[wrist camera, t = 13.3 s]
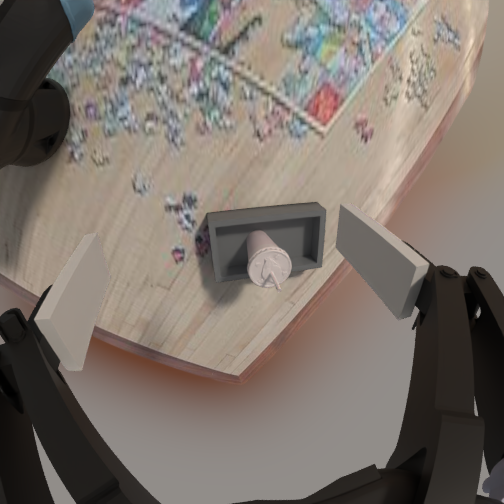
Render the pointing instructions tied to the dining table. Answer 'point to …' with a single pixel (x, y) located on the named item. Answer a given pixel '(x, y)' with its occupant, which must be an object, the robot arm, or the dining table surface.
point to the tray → (276, 227)
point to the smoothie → (266, 261)
